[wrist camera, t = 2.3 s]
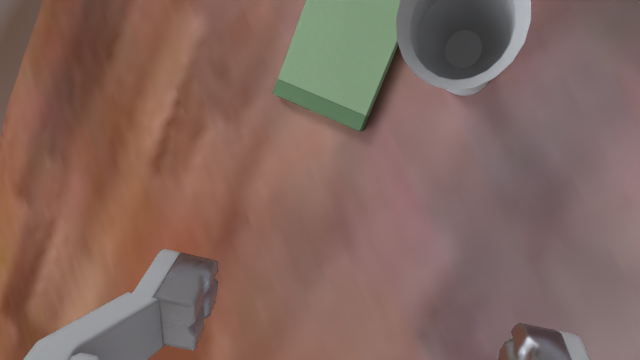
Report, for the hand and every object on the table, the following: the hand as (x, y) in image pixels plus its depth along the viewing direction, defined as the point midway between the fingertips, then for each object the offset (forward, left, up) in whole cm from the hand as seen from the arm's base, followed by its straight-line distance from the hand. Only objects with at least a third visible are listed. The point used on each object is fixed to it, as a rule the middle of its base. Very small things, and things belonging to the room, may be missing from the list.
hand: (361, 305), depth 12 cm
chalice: (-10, -2, -32) cm, 34 cm away
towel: (-10, -14, -32) cm, 36 cm away
